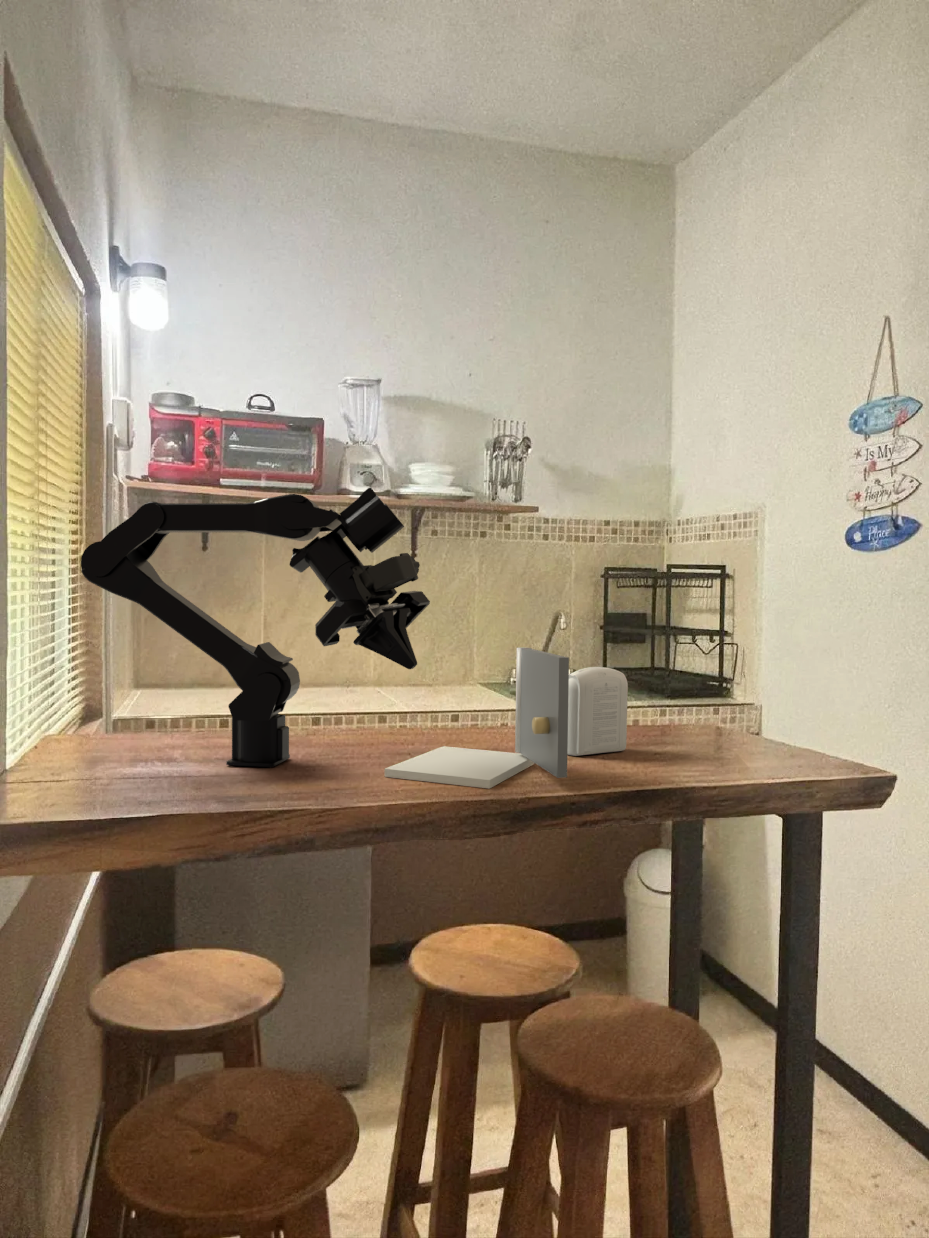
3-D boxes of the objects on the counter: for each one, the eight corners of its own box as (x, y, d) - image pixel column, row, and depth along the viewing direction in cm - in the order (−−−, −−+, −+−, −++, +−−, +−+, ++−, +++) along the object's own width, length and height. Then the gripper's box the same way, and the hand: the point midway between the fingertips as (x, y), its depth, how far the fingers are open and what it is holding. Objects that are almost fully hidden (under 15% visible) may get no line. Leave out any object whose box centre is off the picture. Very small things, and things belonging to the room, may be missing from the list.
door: (544, 778, 99) (545, 657, 98) (504, 750, 115) (506, 647, 115) (570, 777, 100) (572, 657, 99) (527, 750, 116) (529, 647, 116)
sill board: (384, 776, 106) (384, 768, 106) (443, 753, 121) (443, 746, 121) (489, 788, 100) (489, 779, 100) (536, 762, 115) (536, 754, 115)
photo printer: (610, 746, 128) (612, 664, 128) (631, 751, 124) (632, 666, 124) (557, 753, 122) (558, 667, 122) (577, 758, 119) (578, 669, 118)
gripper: (335, 533, 100) (413, 634, 96) (418, 531, 116) (488, 618, 112) (283, 595, 105) (356, 694, 101) (370, 585, 121) (436, 670, 117)
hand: (413, 666), depth 108 cm, fingers closed
